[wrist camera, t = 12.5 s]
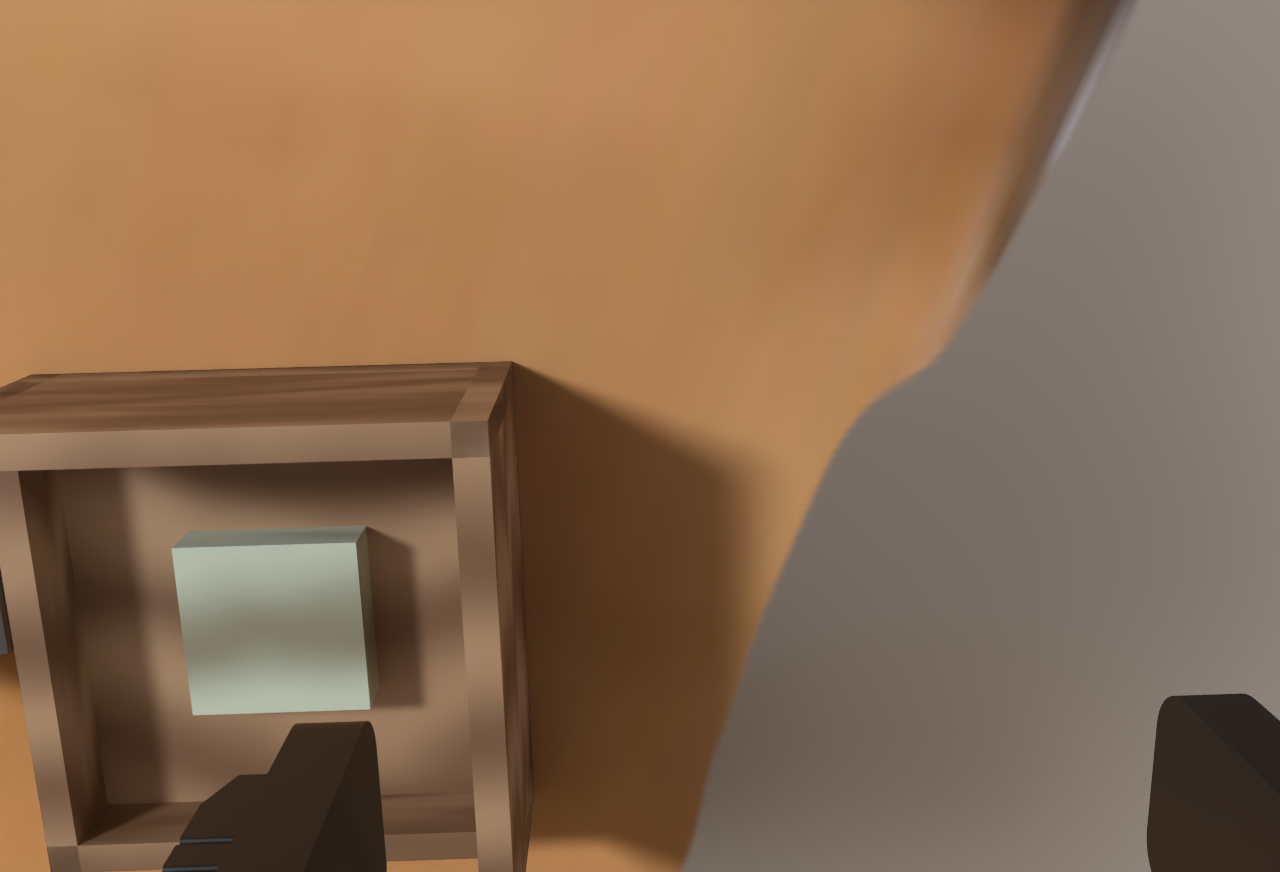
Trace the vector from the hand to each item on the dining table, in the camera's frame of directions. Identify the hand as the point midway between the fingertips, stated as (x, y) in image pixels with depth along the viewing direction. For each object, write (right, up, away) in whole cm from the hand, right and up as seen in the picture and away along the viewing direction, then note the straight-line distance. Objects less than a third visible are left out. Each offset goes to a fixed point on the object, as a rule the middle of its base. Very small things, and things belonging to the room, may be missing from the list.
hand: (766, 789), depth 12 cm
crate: (-16, -3, +38) cm, 41 cm away
